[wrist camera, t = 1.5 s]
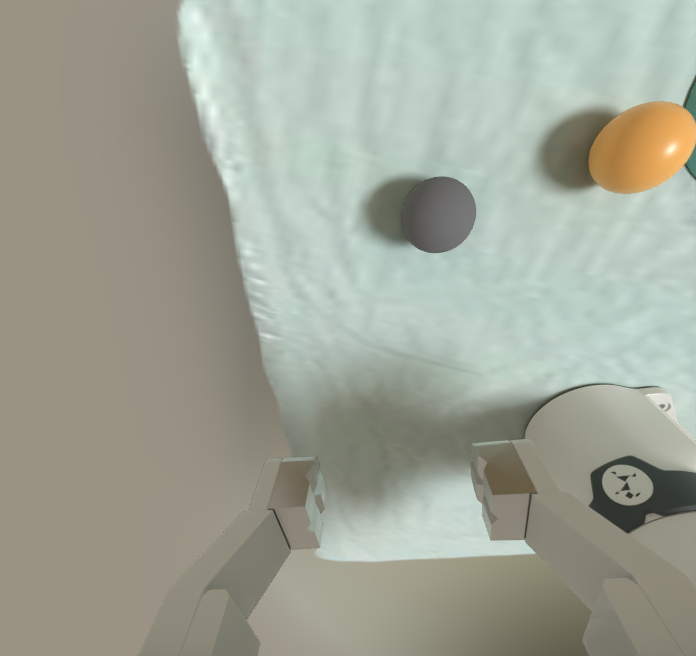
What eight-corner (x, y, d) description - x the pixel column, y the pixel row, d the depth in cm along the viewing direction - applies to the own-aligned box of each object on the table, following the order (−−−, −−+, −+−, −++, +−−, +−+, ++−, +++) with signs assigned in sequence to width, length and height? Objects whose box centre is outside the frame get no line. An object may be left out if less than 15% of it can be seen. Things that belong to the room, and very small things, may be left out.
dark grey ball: (478, 212, 30) (502, 224, 24) (425, 256, 32) (436, 276, 27) (438, 158, 28) (454, 159, 23) (384, 209, 30) (388, 221, 25)
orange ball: (664, 151, 27) (737, 151, 22) (592, 205, 29) (643, 216, 24) (634, 87, 25) (705, 69, 20) (559, 149, 27) (606, 148, 22)
